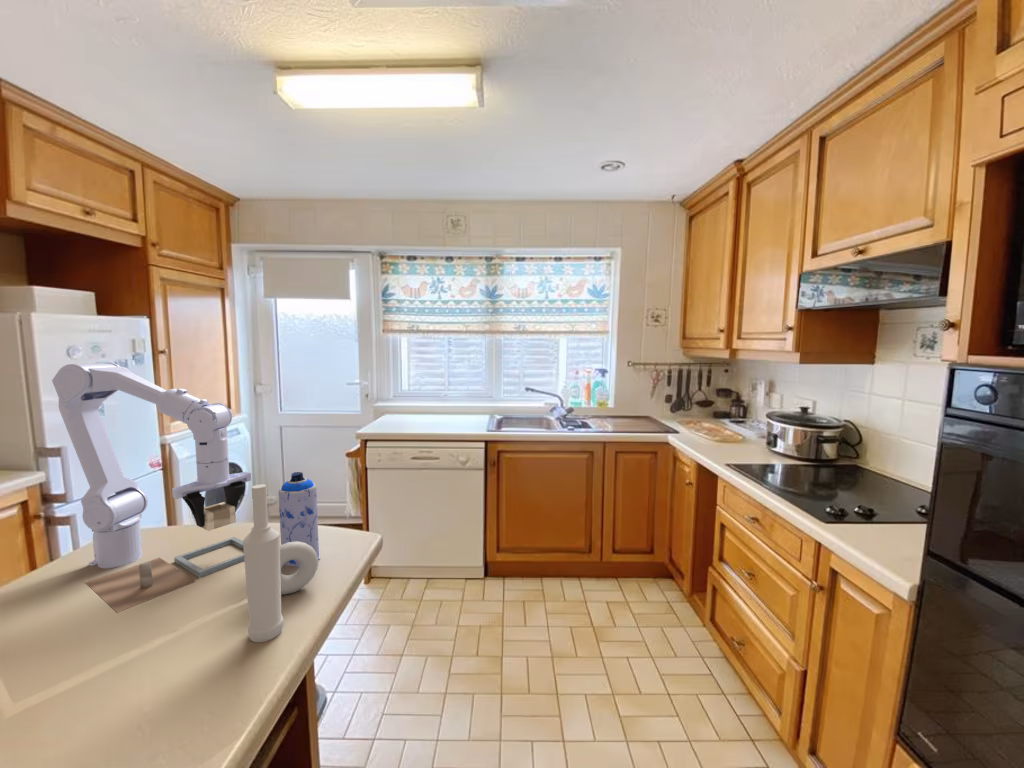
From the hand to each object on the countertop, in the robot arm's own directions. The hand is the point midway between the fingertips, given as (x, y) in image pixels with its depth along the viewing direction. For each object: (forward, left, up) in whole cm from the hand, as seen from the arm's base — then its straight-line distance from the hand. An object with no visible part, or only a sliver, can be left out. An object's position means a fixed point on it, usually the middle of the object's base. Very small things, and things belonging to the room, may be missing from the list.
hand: (216, 521), depth 94 cm
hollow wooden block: (0, 0, -1) cm, 1 cm away
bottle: (+33, -7, -10) cm, 35 cm away
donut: (+25, +2, -10) cm, 27 cm away
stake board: (-2, -13, -9) cm, 16 cm away
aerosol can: (+15, +10, -10) cm, 20 cm away
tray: (0, 0, -9) cm, 9 cm away
